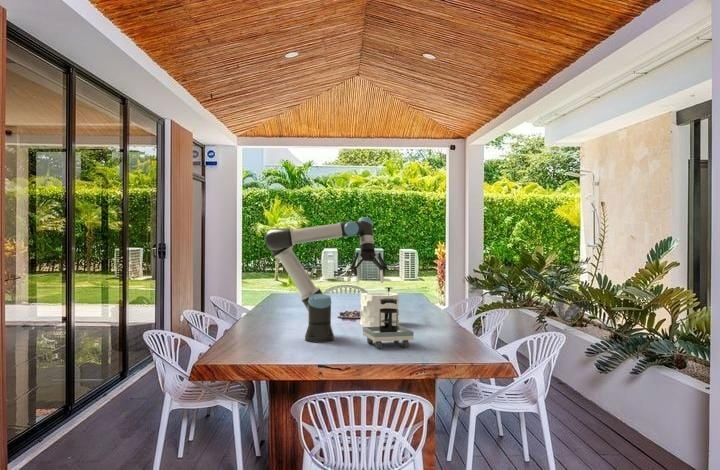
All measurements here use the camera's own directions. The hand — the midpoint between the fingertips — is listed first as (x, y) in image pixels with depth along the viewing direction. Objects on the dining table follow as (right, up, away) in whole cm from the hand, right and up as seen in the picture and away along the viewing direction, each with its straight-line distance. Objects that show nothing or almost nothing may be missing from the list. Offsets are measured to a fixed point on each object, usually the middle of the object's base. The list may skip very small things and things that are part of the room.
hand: (370, 281), depth 324 cm
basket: (+6, -30, +52) cm, 61 cm away
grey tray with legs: (+8, -30, -18) cm, 36 cm away
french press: (+9, -24, -17) cm, 31 cm away
